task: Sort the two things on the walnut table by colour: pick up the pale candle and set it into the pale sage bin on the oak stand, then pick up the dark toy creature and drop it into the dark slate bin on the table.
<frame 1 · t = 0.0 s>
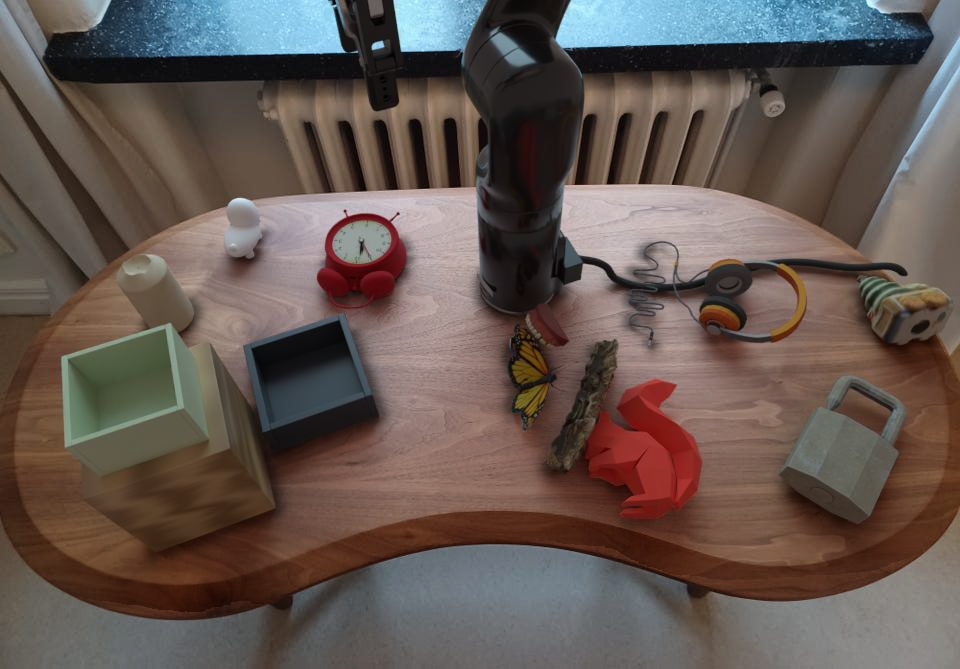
hand: (369, 76, 54), 33 cm above the table, tool pointing down, fingers open, 8 cm apart
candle: (172, 318, 83), on the table
fossil: (589, 417, 73), on the table, touching animal figurine
stand: (208, 477, 71), on the table
dentures model: (550, 313, 73), point 7 cm above the table
pale bin: (150, 414, 59), resting on stand
animal figurine: (639, 452, 71), on the table, touching fossil
ornament: (926, 328, 75), point 3 cm above the table
headphones: (707, 308, 81), on the table
alarm clock: (364, 271, 86), on the table
toy creature: (249, 245, 90), on the table
dark bin: (315, 390, 76), on the table
padlock: (821, 497, 65), point 2 cm above the table
butterfly: (554, 383, 74), point 2 cm above the table
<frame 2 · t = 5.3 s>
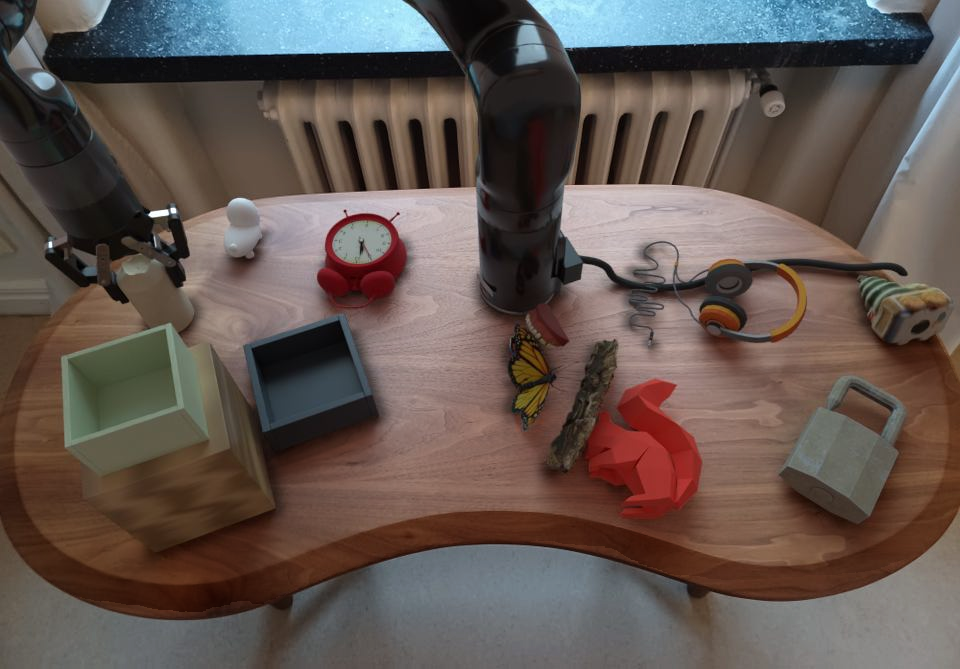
hand: (153, 289, 78), 6 cm above the table, tool pointing down, fingers closed on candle, 5 cm apart
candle: (172, 318, 83), on the table, touching gripper
fossil: (589, 417, 73), on the table
animal figurine: (639, 452, 71), on the table
everything else where it was.
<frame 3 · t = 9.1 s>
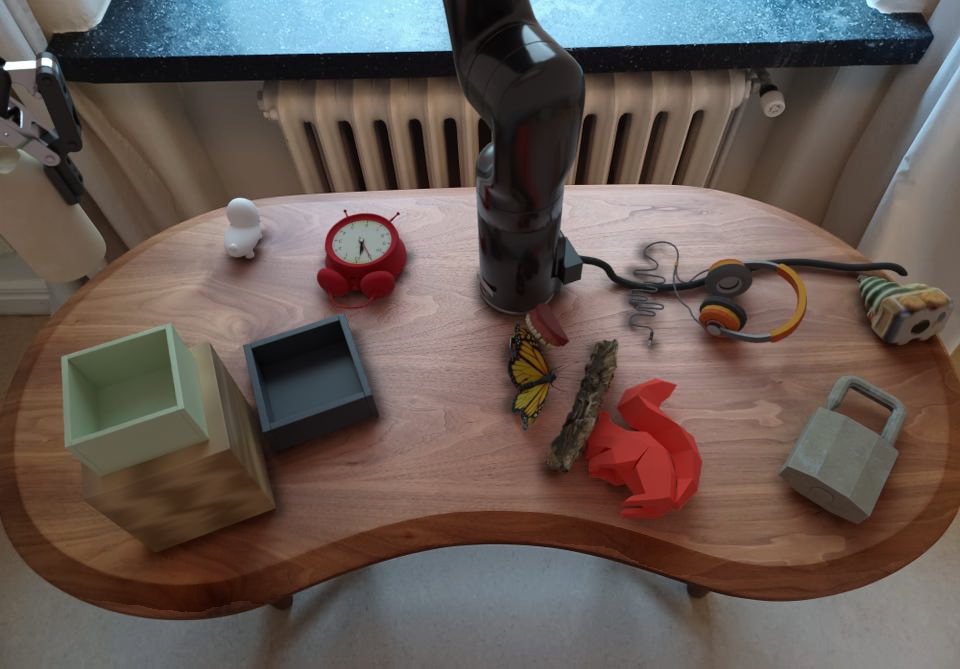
hand: (32, 207, 49), 31 cm above the table, tool pointing down, fingers closed on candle, 5 cm apart
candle: (73, 259, 54), point 26 cm above the table, touching gripper
everything else where it was.
when the fingers open (20 cm above the table, at t = 13.0 s): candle stays where it is, resting on pale bin.
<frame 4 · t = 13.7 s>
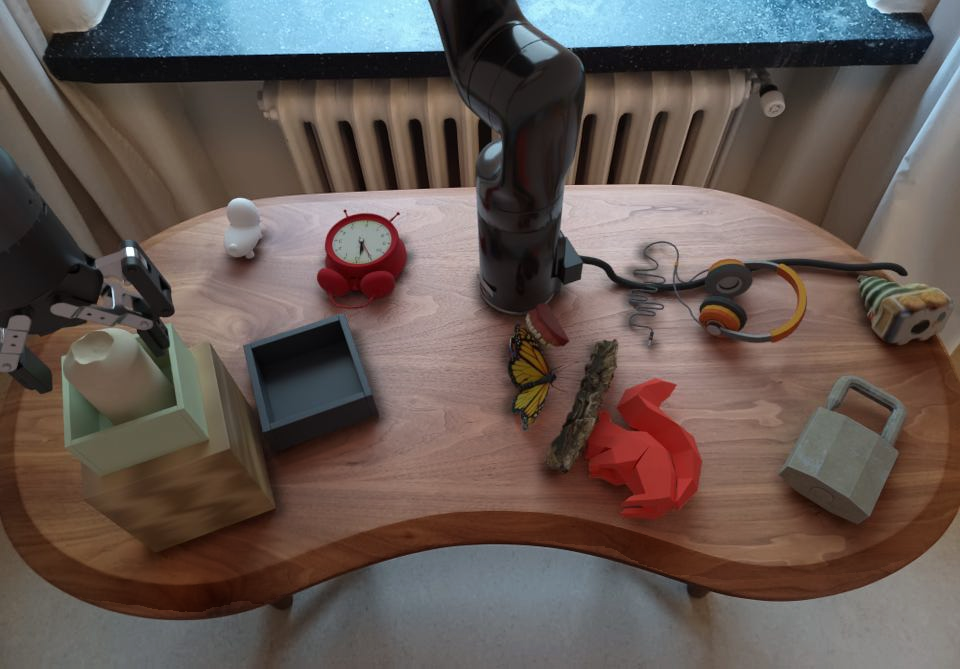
hand: (105, 365, 52), 22 cm above the table, tool pointing down, fingers open, 8 cm apart
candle: (149, 411, 59), point 14 cm above the table, touching pale bin
fossil: (589, 417, 73), on the table, touching animal figurine
animal figurine: (639, 452, 71), on the table, touching fossil
everything else where it was.
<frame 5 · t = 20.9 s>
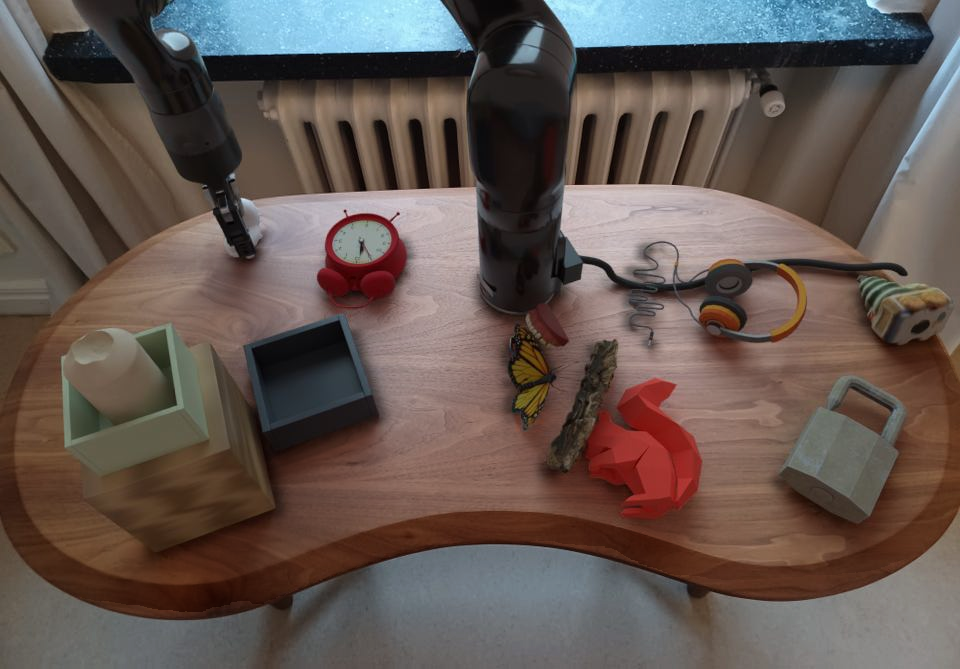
hand: (242, 233, 88), 2 cm above the table, tool pointing down, fingers closed on toy creature, 7 cm apart
toy creature: (249, 245, 90), on the table, touching gripper
everything else where it was.
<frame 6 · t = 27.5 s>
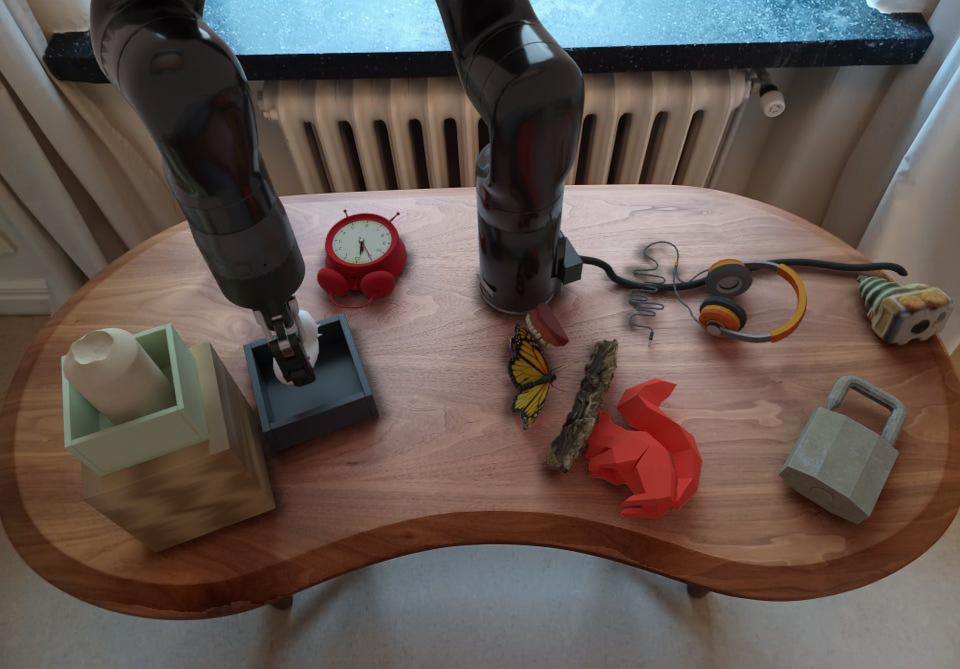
hand: (296, 350, 70), 8 cm above the table, tool pointing down, fingers closed on toy creature, 7 cm apart
fossil: (589, 417, 73), on the table
animal figurine: (639, 452, 71), on the table
toy creature: (303, 363, 71), point 6 cm above the table, touching gripper
everything else where it was.
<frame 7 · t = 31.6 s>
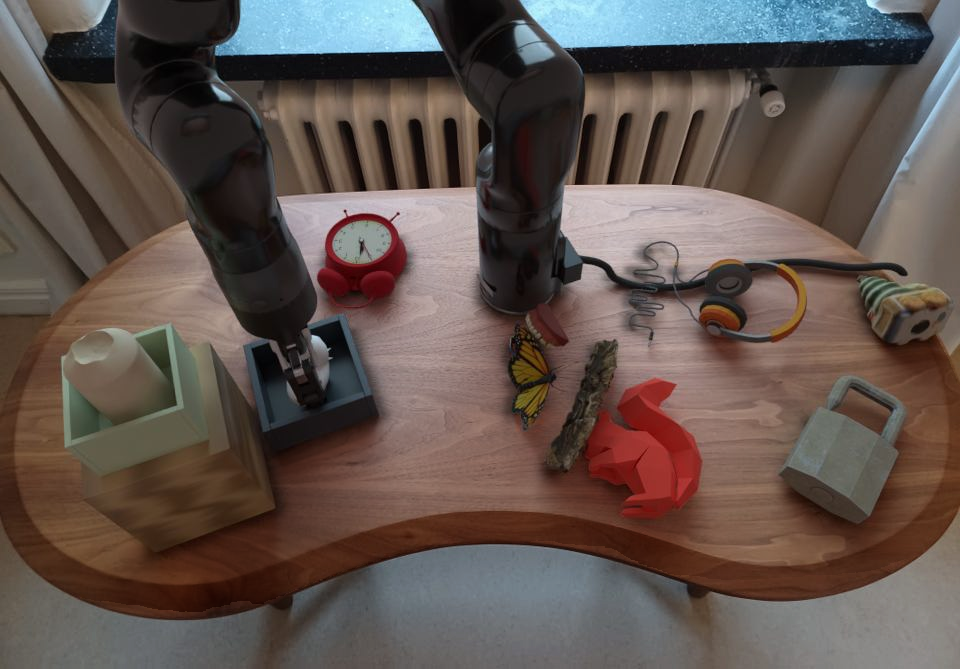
hand: (309, 373, 73), 4 cm above the table, tool pointing down, fingers closed on toy creature, 7 cm apart
toy creature: (314, 385, 75), point 1 cm above the table, touching gripper
everything else where it was.
when the fingers open (4 cm above the table, at t = 34.5 s): toy creature drops 1 cm, resting on dark bin.
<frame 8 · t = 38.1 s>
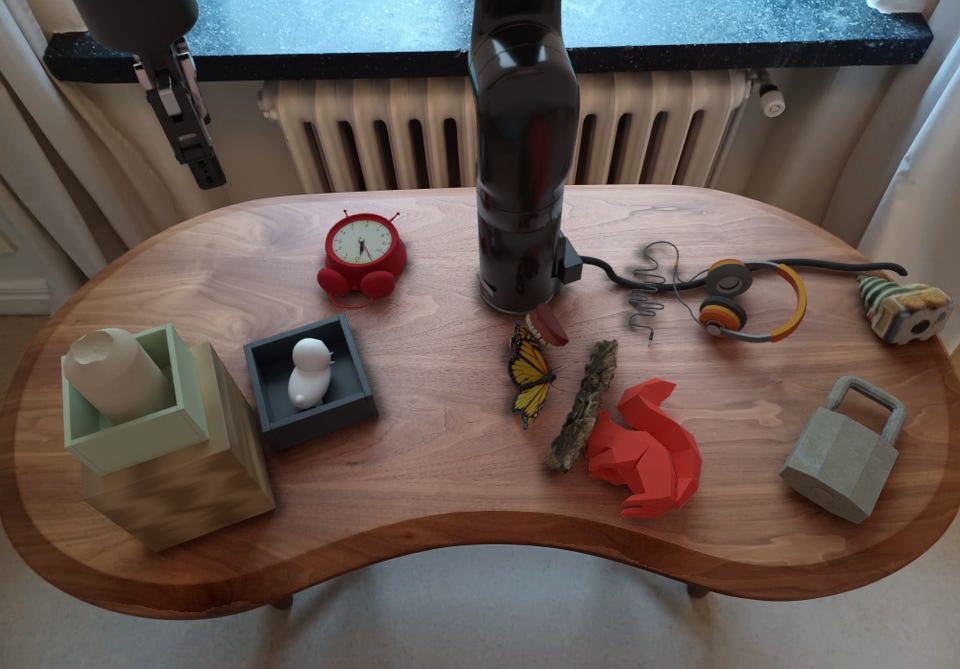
hand: (206, 153, 57), 28 cm above the table, tool pointing down, fingers open, 8 cm apart
fossil: (589, 417, 73), on the table, touching animal figurine
animal figurine: (639, 452, 71), on the table, touching fossil
toy creature: (315, 388, 76), resting on dark bin
everything else where it was.
at the end: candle 0.1 cm off-centre on the pale bin, point 0.4 cm above the pale bin's base; toy creature inside the target area in the dark bin (0.1 cm from its centre), point 0.4 cm above the dark bin's base; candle tilted 0° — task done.
